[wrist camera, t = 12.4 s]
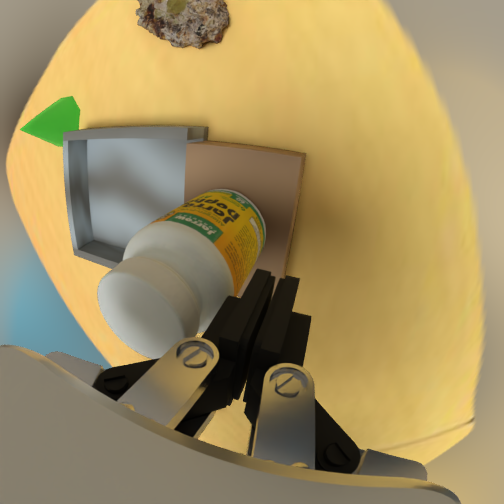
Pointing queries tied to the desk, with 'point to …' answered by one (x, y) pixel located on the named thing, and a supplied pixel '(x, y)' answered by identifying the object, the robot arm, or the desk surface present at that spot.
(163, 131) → the tray
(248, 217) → the supplement bottle
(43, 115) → the gemstone
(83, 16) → the desk surface
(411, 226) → the desk surface
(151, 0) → the mineral rock
